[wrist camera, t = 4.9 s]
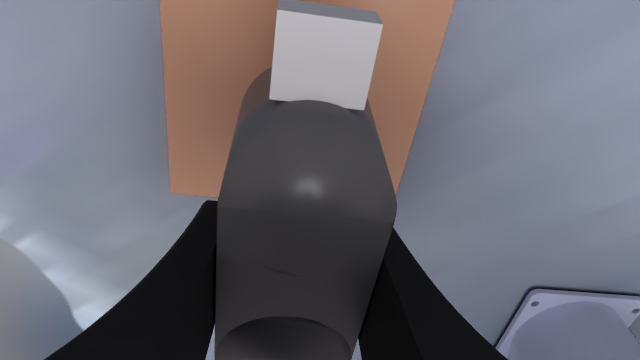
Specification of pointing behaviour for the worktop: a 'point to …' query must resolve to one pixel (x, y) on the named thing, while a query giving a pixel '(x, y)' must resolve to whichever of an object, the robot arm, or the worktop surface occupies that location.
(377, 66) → the terracotta trivet
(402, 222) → the worktop surface
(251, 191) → the charger plug
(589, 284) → the worktop surface
